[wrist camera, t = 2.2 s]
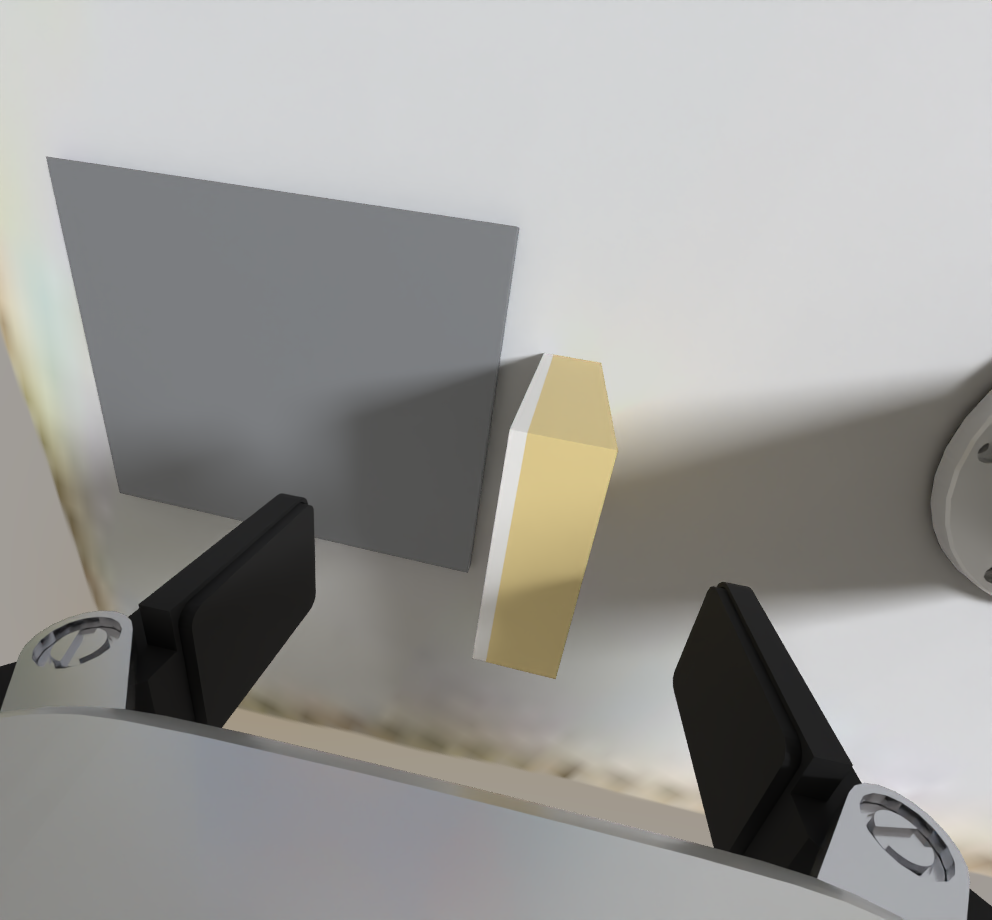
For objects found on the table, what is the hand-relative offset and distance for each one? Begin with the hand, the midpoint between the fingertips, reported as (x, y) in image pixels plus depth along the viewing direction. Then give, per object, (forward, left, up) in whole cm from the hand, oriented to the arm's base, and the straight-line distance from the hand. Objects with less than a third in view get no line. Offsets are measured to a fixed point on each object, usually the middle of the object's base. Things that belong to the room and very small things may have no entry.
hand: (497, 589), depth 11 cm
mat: (+12, 0, -11) cm, 16 cm away
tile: (-1, 0, -11) cm, 11 cm away
